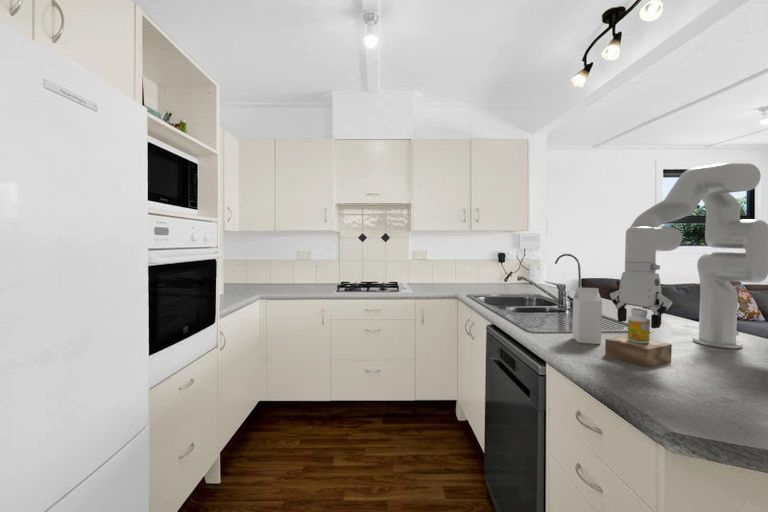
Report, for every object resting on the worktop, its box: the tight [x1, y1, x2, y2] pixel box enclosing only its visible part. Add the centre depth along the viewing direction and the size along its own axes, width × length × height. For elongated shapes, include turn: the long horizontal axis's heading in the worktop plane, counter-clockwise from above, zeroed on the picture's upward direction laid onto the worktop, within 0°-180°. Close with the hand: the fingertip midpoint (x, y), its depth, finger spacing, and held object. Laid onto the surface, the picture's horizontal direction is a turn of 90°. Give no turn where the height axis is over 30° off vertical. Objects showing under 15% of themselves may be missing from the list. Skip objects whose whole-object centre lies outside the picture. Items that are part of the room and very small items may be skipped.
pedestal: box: [604, 334, 673, 368], centre depth 110 cm, size 12×12×5 cm
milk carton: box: [571, 287, 603, 345], centre depth 128 cm, size 7×7×19 cm
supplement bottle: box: [627, 307, 651, 343], centre depth 109 cm, size 5×5×10 cm
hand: (638, 324), depth 109 cm, fingers open, 9 cm apart
